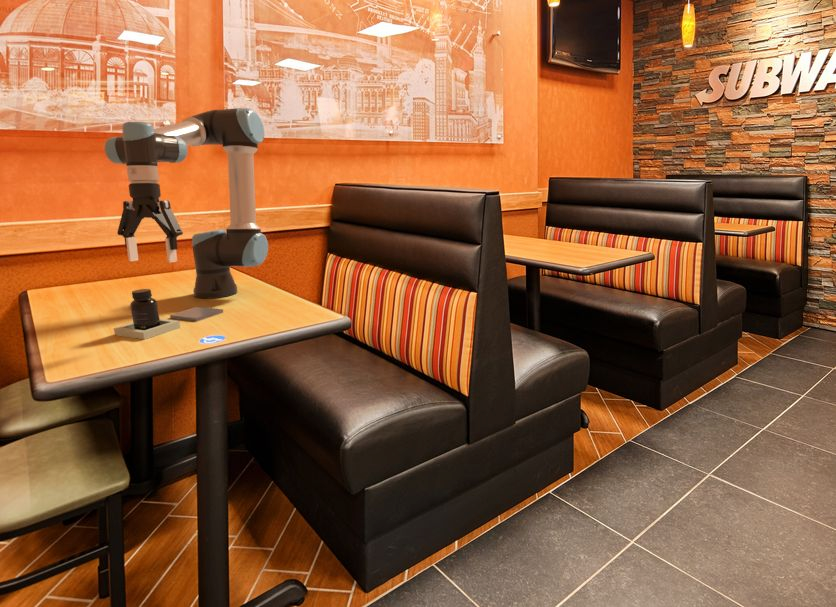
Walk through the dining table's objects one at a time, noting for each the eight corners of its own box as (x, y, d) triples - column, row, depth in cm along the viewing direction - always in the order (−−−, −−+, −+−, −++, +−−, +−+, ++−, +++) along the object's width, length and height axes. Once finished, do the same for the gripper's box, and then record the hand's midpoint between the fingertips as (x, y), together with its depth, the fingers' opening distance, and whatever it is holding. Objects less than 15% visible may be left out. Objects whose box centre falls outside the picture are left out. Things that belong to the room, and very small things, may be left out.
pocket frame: (114, 335, 153) (113, 328, 152) (151, 323, 163) (150, 317, 163) (144, 339, 148) (143, 332, 147) (180, 327, 158) (179, 320, 158)
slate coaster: (170, 318, 168) (169, 315, 168) (197, 309, 178) (197, 306, 178) (196, 321, 164) (195, 318, 164) (223, 312, 174) (222, 309, 173)
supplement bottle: (140, 328, 158) (134, 288, 155) (164, 327, 159) (158, 287, 156) (130, 335, 152) (123, 293, 149) (155, 334, 152) (149, 292, 149)
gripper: (96, 183, 146) (106, 261, 150) (170, 181, 138) (179, 264, 142) (119, 184, 153) (128, 258, 157) (191, 181, 145) (199, 260, 149)
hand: (152, 261), depth 150 cm, fingers open, 13 cm apart
